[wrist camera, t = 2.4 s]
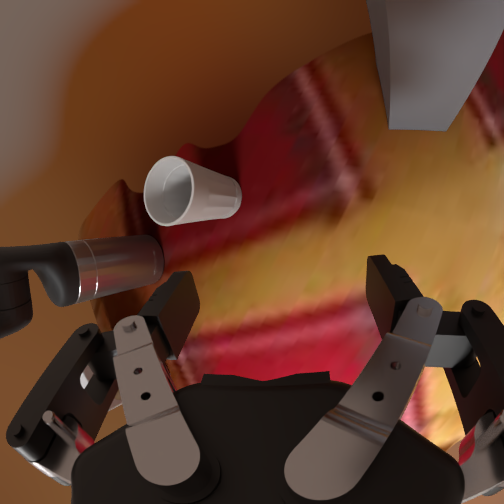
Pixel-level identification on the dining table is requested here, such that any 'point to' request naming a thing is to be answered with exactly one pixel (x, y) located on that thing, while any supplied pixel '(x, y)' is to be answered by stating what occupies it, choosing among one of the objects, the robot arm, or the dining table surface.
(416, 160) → the dining table surface
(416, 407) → the dining table surface
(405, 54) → the stand
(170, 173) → the cup
